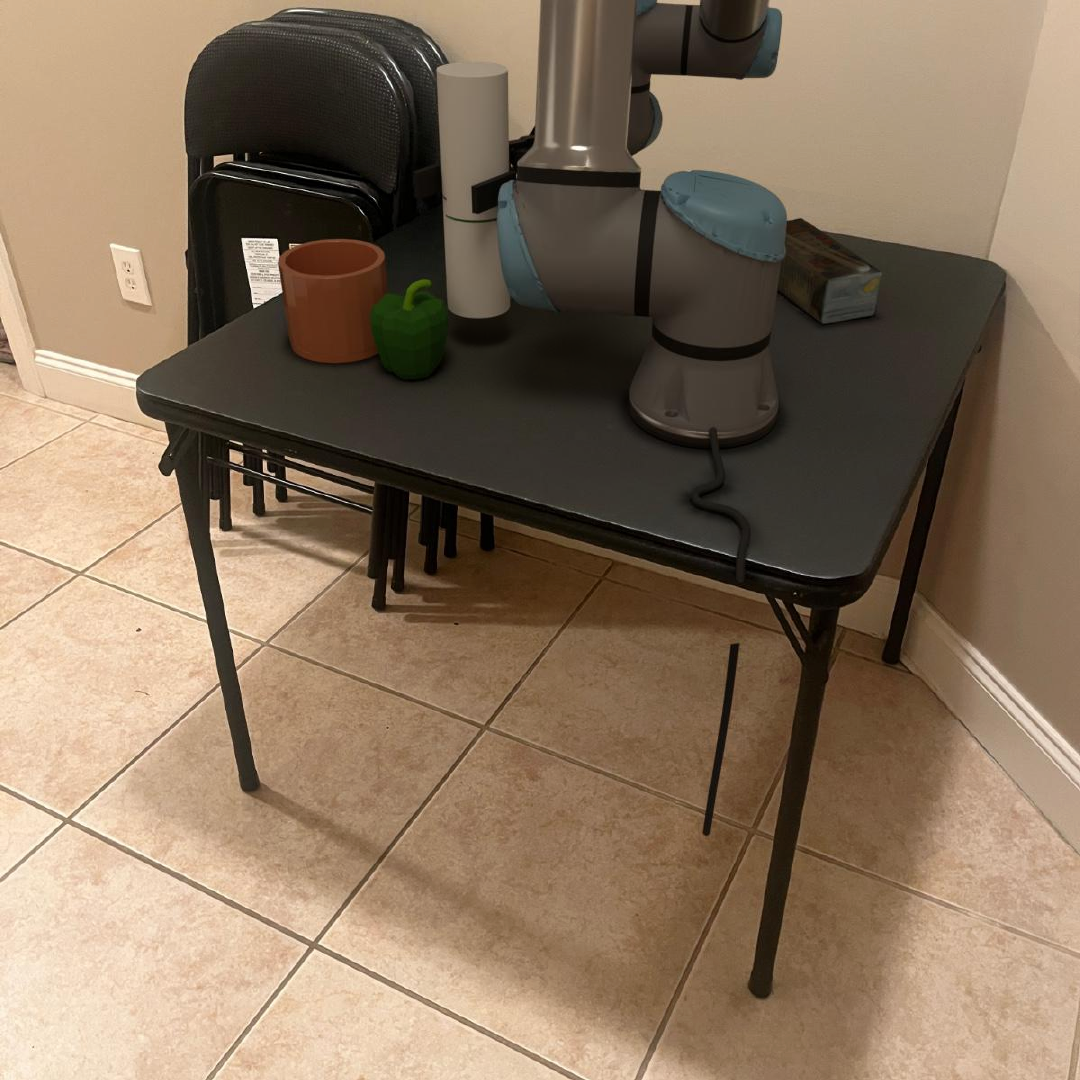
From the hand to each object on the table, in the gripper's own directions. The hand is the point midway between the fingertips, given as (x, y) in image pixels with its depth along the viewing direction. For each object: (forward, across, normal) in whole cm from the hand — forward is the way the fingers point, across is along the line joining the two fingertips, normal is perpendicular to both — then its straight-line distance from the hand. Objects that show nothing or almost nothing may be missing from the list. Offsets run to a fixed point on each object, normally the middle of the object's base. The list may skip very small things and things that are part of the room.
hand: (445, 192), depth 105 cm
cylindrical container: (-5, 0, -14) cm, 15 cm away
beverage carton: (-41, -25, -18) cm, 51 cm away
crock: (+5, +13, -18) cm, 23 cm away
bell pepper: (+5, +1, -19) cm, 19 cm away
